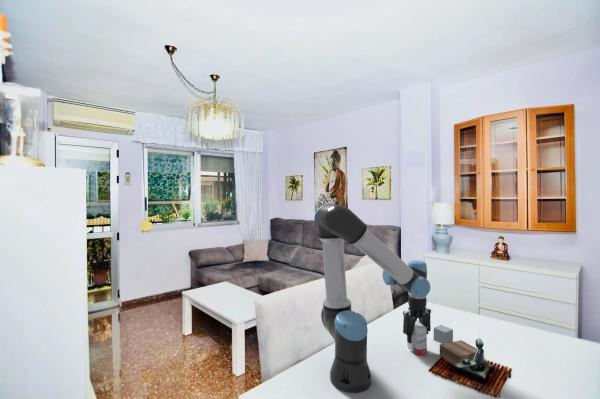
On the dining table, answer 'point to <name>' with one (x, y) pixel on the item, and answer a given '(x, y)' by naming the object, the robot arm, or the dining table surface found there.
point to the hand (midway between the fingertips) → (416, 348)
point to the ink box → (420, 339)
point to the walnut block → (457, 351)
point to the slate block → (443, 334)
